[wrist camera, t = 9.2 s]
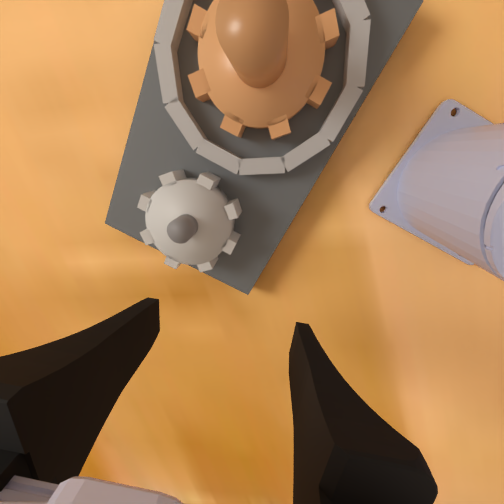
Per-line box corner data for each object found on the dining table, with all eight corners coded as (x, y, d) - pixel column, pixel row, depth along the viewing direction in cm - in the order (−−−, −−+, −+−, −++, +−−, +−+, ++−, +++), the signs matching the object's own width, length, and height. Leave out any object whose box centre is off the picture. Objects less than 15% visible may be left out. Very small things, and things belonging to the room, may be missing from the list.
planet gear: (363, 19, 14) (409, -54, 9) (288, 163, 17) (291, 169, 12) (227, -62, 13) (194, -191, 8) (175, 102, 17) (128, 81, 12)
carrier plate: (410, 14, 15) (467, -47, 10) (250, 286, 23) (242, 320, 18) (211, -112, 14) (176, -242, 9) (116, 218, 22) (71, 236, 17)
